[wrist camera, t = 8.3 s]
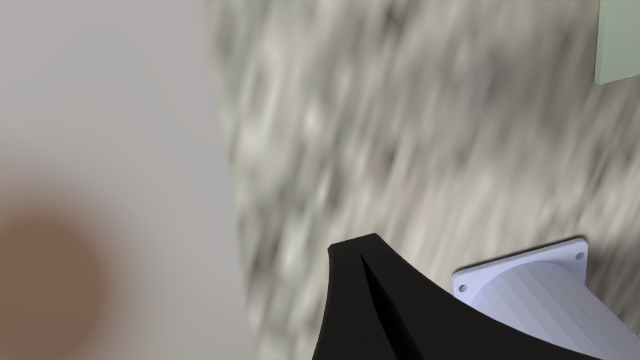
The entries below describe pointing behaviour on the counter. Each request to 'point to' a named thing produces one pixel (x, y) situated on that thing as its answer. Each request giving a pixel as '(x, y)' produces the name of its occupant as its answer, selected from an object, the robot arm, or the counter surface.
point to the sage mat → (618, 41)
